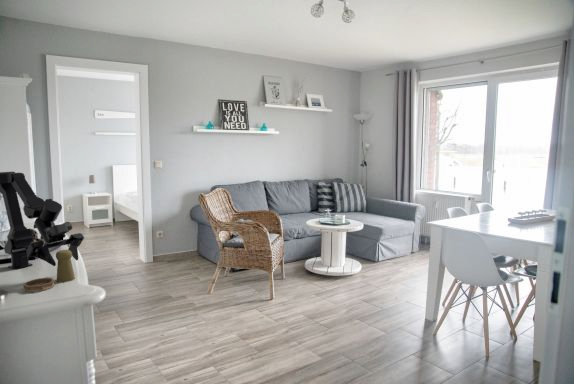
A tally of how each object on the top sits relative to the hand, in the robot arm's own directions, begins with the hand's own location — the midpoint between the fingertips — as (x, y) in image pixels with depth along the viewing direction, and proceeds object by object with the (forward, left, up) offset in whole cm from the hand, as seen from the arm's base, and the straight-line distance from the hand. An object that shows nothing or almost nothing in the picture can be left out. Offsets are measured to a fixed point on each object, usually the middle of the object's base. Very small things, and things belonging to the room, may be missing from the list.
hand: (66, 262), depth 147 cm
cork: (-1, 0, -7) cm, 7 cm away
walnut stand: (-1, -10, -7) cm, 12 cm away
